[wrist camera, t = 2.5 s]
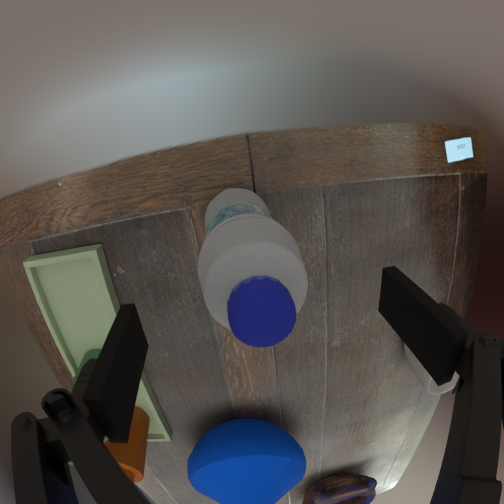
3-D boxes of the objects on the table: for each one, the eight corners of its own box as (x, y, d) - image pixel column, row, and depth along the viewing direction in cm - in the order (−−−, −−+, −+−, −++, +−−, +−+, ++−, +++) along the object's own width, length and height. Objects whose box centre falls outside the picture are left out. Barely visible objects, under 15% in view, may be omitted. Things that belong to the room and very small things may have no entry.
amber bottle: (103, 405, 40) (82, 491, 25) (137, 401, 40) (122, 493, 25) (124, 429, 42) (111, 510, 28) (156, 425, 42) (149, 511, 28)
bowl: (376, 456, 57) (390, 487, 48) (351, 487, 64) (362, 515, 55) (305, 470, 55) (316, 506, 46) (289, 499, 61) (297, 529, 52)
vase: (282, 388, 43) (314, 500, 25) (303, 444, 50) (328, 529, 32) (168, 415, 43) (163, 523, 25) (211, 466, 50) (217, 549, 32)
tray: (30, 256, 31) (22, 262, 29) (101, 243, 32) (96, 250, 30) (115, 432, 44) (113, 441, 42) (172, 432, 45) (171, 441, 43)
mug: (397, 320, 41) (433, 362, 32) (444, 300, 41) (482, 335, 32) (393, 377, 46) (420, 418, 37) (435, 358, 46) (464, 393, 37)
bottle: (248, 254, 34) (289, 390, 16) (192, 228, 33) (171, 355, 14) (278, 200, 33) (362, 294, 14) (221, 171, 31) (234, 234, 12)
